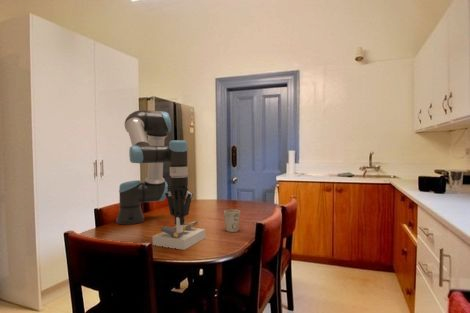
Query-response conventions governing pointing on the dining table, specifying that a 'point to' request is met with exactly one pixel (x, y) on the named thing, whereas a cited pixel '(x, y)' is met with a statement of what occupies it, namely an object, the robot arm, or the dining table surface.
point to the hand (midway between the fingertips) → (179, 232)
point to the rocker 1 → (171, 231)
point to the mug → (232, 219)
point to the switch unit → (179, 239)
